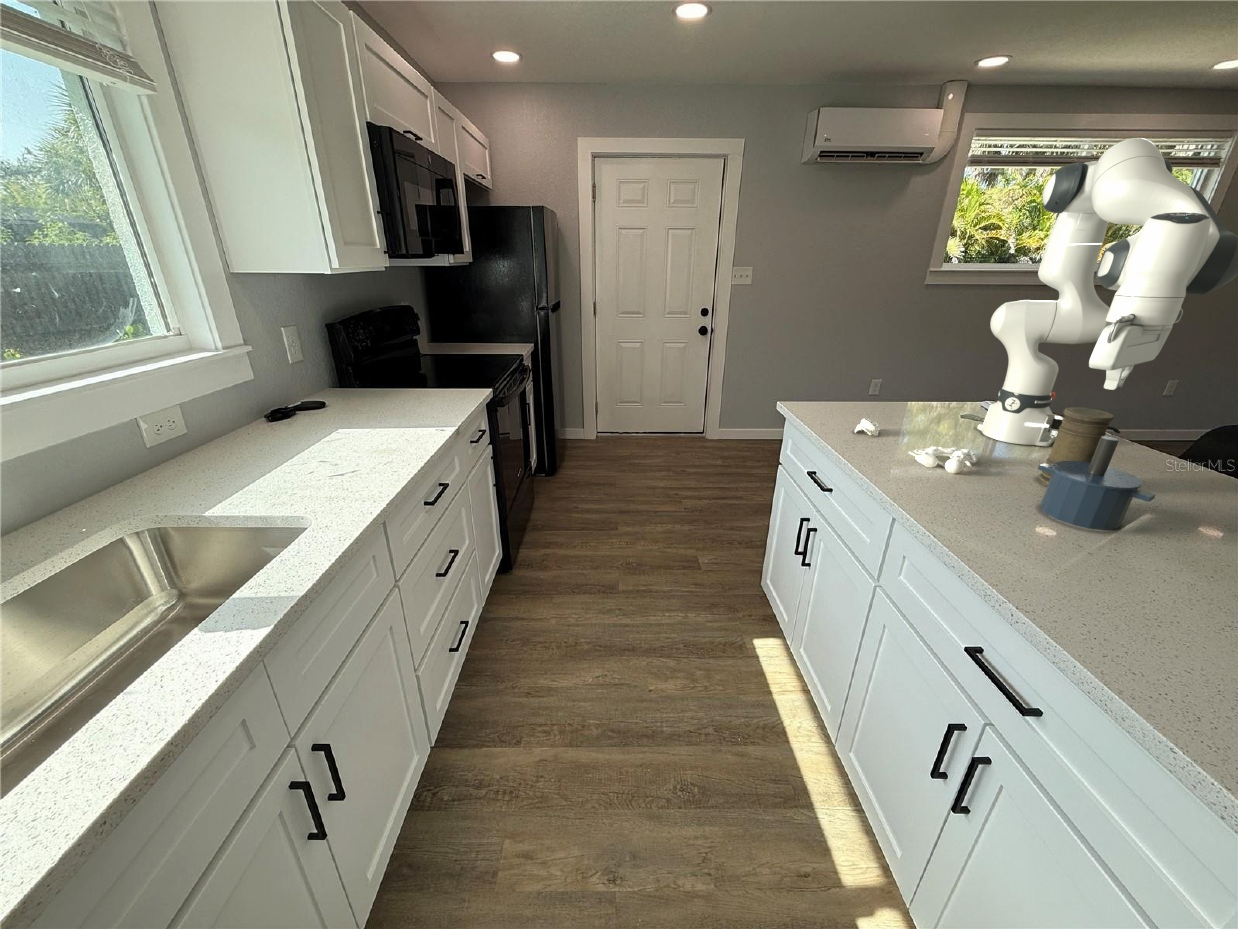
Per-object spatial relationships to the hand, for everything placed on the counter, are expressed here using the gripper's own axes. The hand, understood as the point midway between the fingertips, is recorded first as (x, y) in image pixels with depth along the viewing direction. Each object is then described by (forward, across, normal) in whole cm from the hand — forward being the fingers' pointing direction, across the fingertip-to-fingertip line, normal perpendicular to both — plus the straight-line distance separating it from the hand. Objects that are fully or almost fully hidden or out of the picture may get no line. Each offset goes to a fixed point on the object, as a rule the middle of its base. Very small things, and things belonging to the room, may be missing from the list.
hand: (1112, 388), depth 93 cm
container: (+27, +16, +7) cm, 32 cm away
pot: (+27, 0, -2) cm, 27 cm away
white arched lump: (+27, +9, +54) cm, 61 cm away
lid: (+17, 0, -2) cm, 18 cm away
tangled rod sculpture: (+27, +5, +29) cm, 40 cm away
